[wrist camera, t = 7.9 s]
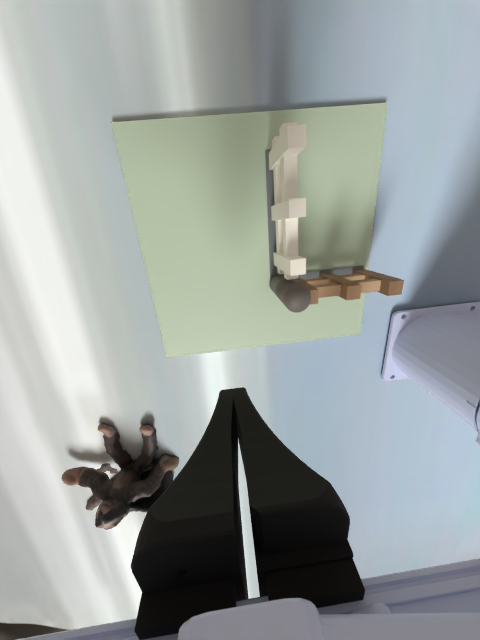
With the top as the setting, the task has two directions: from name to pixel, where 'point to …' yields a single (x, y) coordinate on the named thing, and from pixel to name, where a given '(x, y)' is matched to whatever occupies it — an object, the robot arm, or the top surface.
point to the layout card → (249, 221)
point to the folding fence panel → (287, 198)
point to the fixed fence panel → (332, 287)
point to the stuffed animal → (124, 478)
